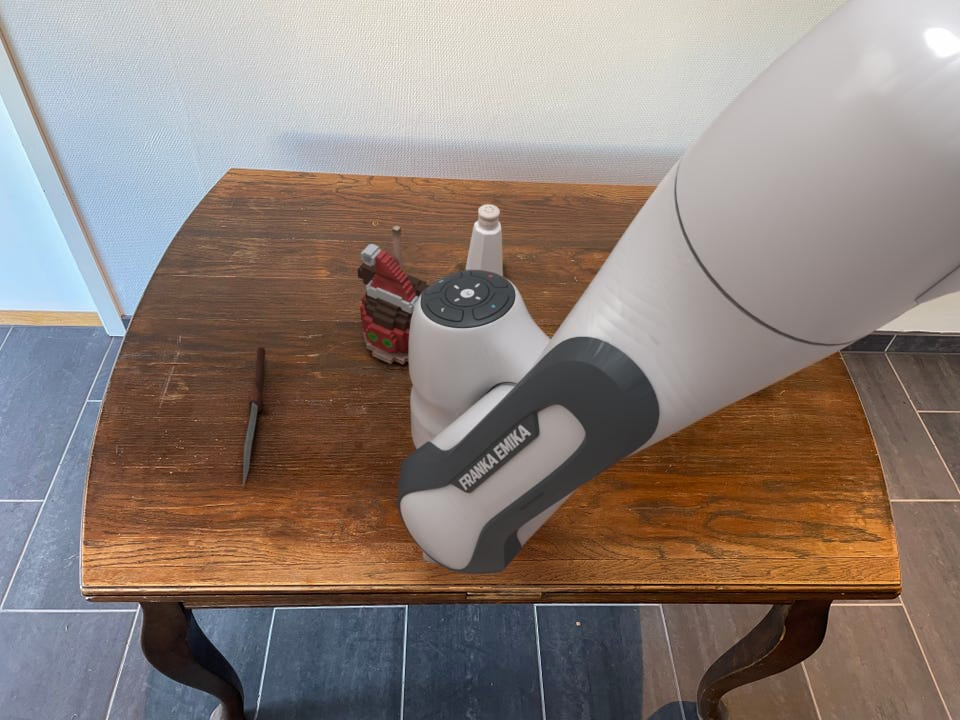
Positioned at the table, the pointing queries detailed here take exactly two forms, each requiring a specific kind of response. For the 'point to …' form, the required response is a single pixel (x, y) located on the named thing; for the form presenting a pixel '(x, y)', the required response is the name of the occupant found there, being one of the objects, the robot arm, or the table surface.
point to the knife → (254, 409)
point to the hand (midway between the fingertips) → (455, 495)
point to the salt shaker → (486, 242)
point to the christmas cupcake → (388, 301)
